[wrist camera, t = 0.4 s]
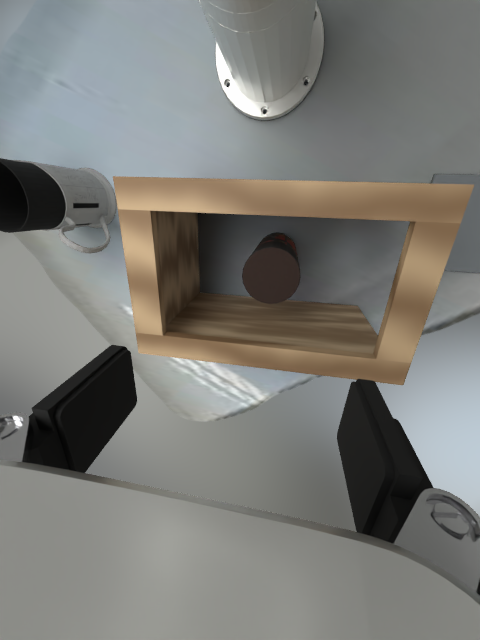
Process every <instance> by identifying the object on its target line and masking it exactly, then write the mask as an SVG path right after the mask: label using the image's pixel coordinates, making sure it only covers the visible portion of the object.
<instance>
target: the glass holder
mask: <svg viewBox="0 0 480 640" xmlns="http://www.w3.org/2000/svg"><path fill="white" fill-rule="evenodd" d="M116 206H117V203H116V197H115V193H114V191H113V188H112V186H111V185H110V183H109V182H108V180H107V179H106V178H105V177H104V176H103V175H102V174H100V173H99V172H98V171H96V170H94V169H90V168H79V169H71V168H65V167H59V166H53V165H47V164H41V163H35V162H29V161H21V160H7V159H1V158H0V231H3V232H9V233H10V232H21V231H31V230H55V229H60V230H59V234H58V235H59V238H60V239H61V240H62V242H63V243H65V244H66V245H67V246H69V247H71V248H73V249H75V250H77V251H80V252H83V253H96V252H99V251H102V250H103V249H104V248H106V247H107V245H108V243H109V242H110V238H111V237H110V233H109V230H108V227H107V225H108V224H109V223H110V222H111V221H112V220H113V218H114V216H115V213H116ZM84 226H89V227H93V228H102V227H103V230H104V232H105V235H106V242H105V243H104V244H103V245H102V246H99V247H96V248H86V247H82V246H80V245H77V244H75V243H74V242H72V241H70V240H69V239H68V238H67V237H66V236H65V235H64V233H63V232H66V231H70V230H73V229H74V228H75V227H84Z"/></svg>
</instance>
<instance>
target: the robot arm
mask: <svg viewBox="0 0 480 640" xmlns="http://www.w3.org/2000/svg"><path fill="white" fill-rule="evenodd" d="M198 1H199V3H200V6H201V8H202V10H203V13H204V15H205V17H206V19H207V22H208V24H209V26H210V28H211V31H212V33H213V35H214V38H215V40H216V50H215V58H216V69H217V73H218V78H219V81H220V83H221V86H222V89H223V91H224V93H225V94H226V96H227V98H228V99H229V101H230V102H231V103H232V105H233V106H234V107H235V108H236V109H237V110H238V111H240V112H241V113H242V114H244V115H246V116H248V117H250V118H253V119H257V120H271V119H276V118H279V117H281V116H283V115H286V114H287V113H289V112H290V111H292V110H293V109H294V108H295V107H296V106H297V105H299V104H300V103H301V102H302V101H303V99H304V98H305V96H306V95H307V94H308V92H309V91H310V89H311V87H312V85H313V83H314V82H315V80H316V77H317V74H318V71H319V68H320V64H321V60H322V55H323V47H324V27H323V22H322V16H321V13H320V10H319V7H318V5H317V2H316V0H198ZM314 20H315V21H314ZM304 82H308V85H306V86H305V85H304ZM228 84H230V87H228V88H227V85H228ZM264 110H266V111H267V113H266V114H263V111H264ZM136 402H137V395H136V388H135V381H134V374H133V366H132V359H131V353H130V351H128V350H127V348H126V347H124V346H116V345H111V346H110V347H108V348H107V349H106V350H105V351H103V352H102V353H101V354H99V355H98V356H97V357H96V358H94V359H93V360H92V361H91V362H89V363H88V364H87V365H86V366H84V367H83V368H82V369H80V370H79V371H78V372H77V373H75V374H74V375H73V376H72V377H70V378H69V379H68V380H67V381H65V382H64V383H63V384H61V385H60V386H59V387H58V388H56V389H55V390H54V391H53V392H51V393H50V394H49V395H48V396H46V397H45V398H44V399H42V400H41V401H40V402H39V403H37V404H36V405H35V406H34V407H32V411H33V414H31V415H30V416H29V417H28V416H27V415H26V414H25V413H21V412H13V413H8V414H4V415H1V416H0V640H480V517H479V516H478V514H477V513H476V512H475V511H474V510H473V509H472V508H471V507H470V506H469V505H468V504H466V503H465V502H464V501H462V500H461V499H460V498H458V497H457V496H455V495H453V494H451V493H450V492H447V491H444V490H441V489H436V488H433V486H432V484H431V482H430V480H429V478H428V476H427V474H426V472H425V471H424V469H423V467H422V465H421V463H420V461H419V459H418V457H417V455H416V453H415V451H414V449H413V447H412V445H411V443H410V441H409V439H408V438H407V436H406V434H405V432H404V430H403V428H402V426H401V424H400V423H399V421H398V420H396V419H393V417H392V415H391V413H390V411H389V409H388V407H387V405H386V403H385V401H384V399H383V397H382V395H381V393H380V391H379V389H378V387H377V385H376V383H375V382H374V381H372V380H365V379H357V381H356V382H352V383H351V386H350V389H349V393H348V397H347V400H346V404H345V407H344V411H343V414H342V418H341V422H340V425H339V429H338V433H337V440H338V446H339V451H340V455H341V460H342V465H343V470H344V474H345V479H346V483H347V488H348V493H349V498H350V503H351V507H352V512H353V517H354V522H355V526H356V530H357V532H354V531H351V530H346V529H342V528H338V527H333V526H330V525H325V524H321V523H317V522H313V521H308V520H304V519H300V518H295V517H291V516H286V515H282V514H277V513H272V512H268V511H262V510H258V509H254V508H249V507H244V506H240V505H235V504H230V503H226V502H221V501H216V500H212V499H207V498H202V497H197V496H193V495H188V494H183V493H178V492H173V491H169V490H164V489H159V488H154V487H150V486H145V485H140V484H135V483H130V482H125V481H120V480H115V479H111V478H105V477H101V476H96V475H91V474H86V473H85V472H86V470H87V469H88V468H89V466H90V465H91V464H92V463H93V461H94V460H95V459H96V457H97V456H98V455H99V453H100V452H101V451H102V449H103V448H104V446H105V445H106V444H107V443H108V442H109V440H110V439H111V438H112V436H113V435H114V434H115V432H116V431H117V430H118V428H119V427H120V426H121V424H122V423H123V422H124V420H125V419H126V418H127V416H128V415H129V414H130V412H131V411H132V410H133V408H134V407H135V405H136Z"/></svg>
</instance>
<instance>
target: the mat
mask: <svg viewBox="0 0 480 640" xmlns="http://www.w3.org/2000/svg"><path fill="white" fill-rule="evenodd" d="M431 184H471V185H474V187H473V190H472V193H471V196H470V198H469V201H468V204H467V207H466V210H465V213H464V215H463V218H462V221H461V224H460V227H459V229H458V232H457V235H456V238H455V241H454V244H453V246H452V249H451V252H450V255H449V258H448V260H447V263H446V266H445V269H444V271H457V272H472V273H480V175H474V174H434V176H433V179H432V182H431Z"/></svg>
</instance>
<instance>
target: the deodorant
mask: <svg viewBox="0 0 480 640" xmlns="http://www.w3.org/2000/svg"><path fill="white" fill-rule="evenodd" d="M242 278H243V284H244V286H245V288H246V291H247V292H248V293H249V294H250V296H252V297H253V298H254V299H256V300H257V301H260V302H262V303H267V304H276V303H280V302H283V301H285V300H287V299H288V298H290V297H291V296H292V295H293V294H294V292H295V291H296V289H297V287H298V285H299V281H300V268H299V263H298V258H297V252H296V247H295V244H294V242H293V241H292V239H291V238H290V237H288V236H287V235H285V234H282V233H272V234H270V235H267V236H266V237H265V238H263V240H262V241H261V242H260V244H259V245H258V246H257V248H256V249H255V250H254V252H253V253H252V255H251V256H250V257H249V259H248V260H247V261H246V263H245V266H244V268H243V274H242Z"/></svg>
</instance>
